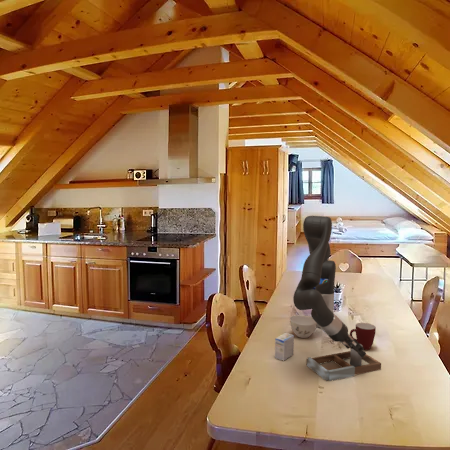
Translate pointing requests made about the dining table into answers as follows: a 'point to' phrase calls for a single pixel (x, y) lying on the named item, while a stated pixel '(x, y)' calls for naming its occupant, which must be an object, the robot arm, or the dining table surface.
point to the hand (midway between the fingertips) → (356, 350)
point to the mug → (364, 334)
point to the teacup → (302, 325)
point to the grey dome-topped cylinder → (355, 358)
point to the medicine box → (284, 346)
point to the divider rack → (341, 372)
